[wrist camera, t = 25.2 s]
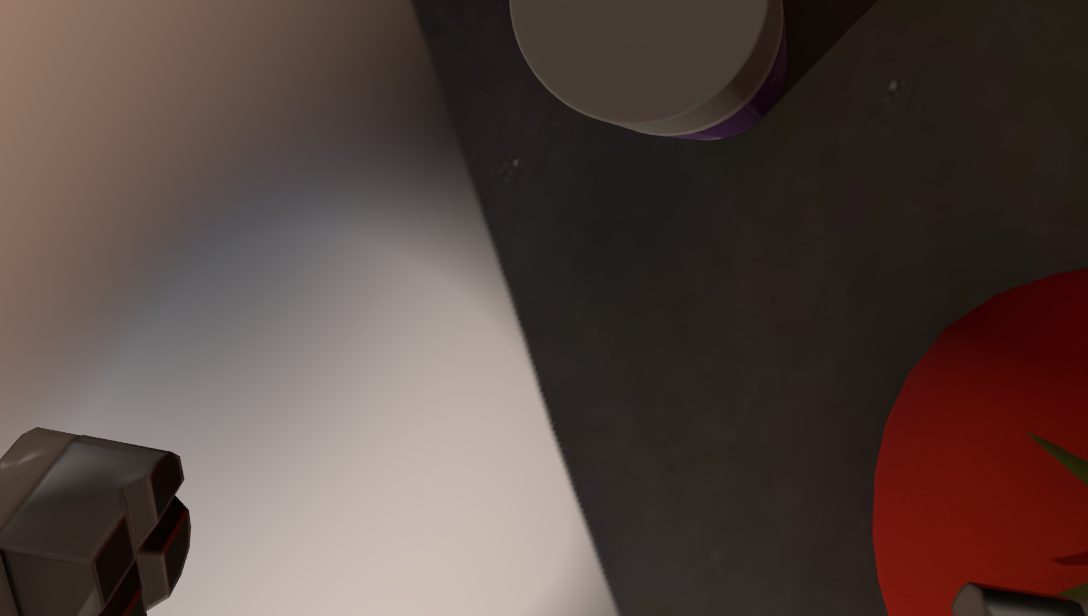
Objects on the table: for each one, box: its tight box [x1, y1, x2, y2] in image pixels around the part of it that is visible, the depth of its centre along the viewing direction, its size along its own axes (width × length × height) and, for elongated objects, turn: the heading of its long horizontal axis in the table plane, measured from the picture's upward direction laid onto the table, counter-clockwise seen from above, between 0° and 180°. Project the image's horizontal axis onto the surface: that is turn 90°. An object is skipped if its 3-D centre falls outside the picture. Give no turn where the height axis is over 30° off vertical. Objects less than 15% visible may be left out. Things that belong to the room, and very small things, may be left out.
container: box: [509, 0, 788, 140], centre depth 24 cm, size 5×5×15 cm
